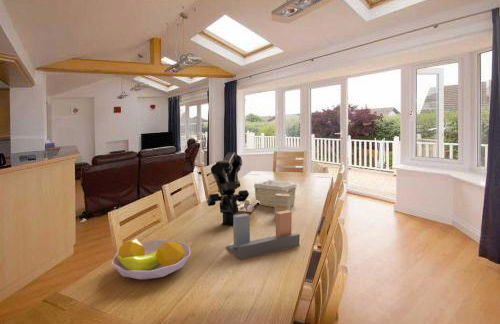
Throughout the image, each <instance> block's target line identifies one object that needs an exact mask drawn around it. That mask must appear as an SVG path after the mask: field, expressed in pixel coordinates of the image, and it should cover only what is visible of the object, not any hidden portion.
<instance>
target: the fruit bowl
mask: <svg viewBox="0 0 500 324" xmlns="http://www.w3.org/2000/svg"><path fill="white" fill-rule="evenodd" d="M191 253H192V252H191V247H190V245H189V244H187V243H184V242H182V241H178V240H176V239H175V240H174V239H170V240H169V239H154V240H148V241H145V242H144V241H143V242H140V240H138V238H135V239H131V240H125V241H124V242H123V243H122V244H121V246H119V248H118V252H116V253H115V254H114V257H113V259H112V261H111V265H112V266H113V267H114V268H115V269H116V271H117V272H118V273H119V274H120V275H121V276H122V277H125V278H132V279H136V280H151V279H157V278H163V277H165V276H167V275H169V274H171V273H173V272H177V270H180V269H182V268H183V267H184V266H185V264H186V263H187V260H188V259H189V258H190V257H191V255H192V254H191Z"/></svg>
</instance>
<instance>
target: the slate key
mask: <svg viewBox="0 0 500 324" xmlns="http://www.w3.org/2000/svg"><path fill="white" fill-rule="evenodd" d="M250 216H251V215H250V214H248V213H239V214H236V215H233V226H232V227H233V230H232V231H233V245H234V247H236V248H238V245H242V244H247V243H250V241H251V237H250V236H251V235H250V234H251V233H250V232H251V231H250V230H251V226H250V225H251V224H250V220H251V219H250Z"/></svg>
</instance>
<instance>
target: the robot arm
mask: <svg viewBox="0 0 500 324" xmlns="http://www.w3.org/2000/svg"><path fill="white" fill-rule="evenodd" d="M242 166H243V160H242V157H241V156H240V155H239V154H237V152H234V151H233V152H232V151H228V152H226V155H225V156H224V158H223V159H222V160H218V161H216V162H215V164H213V165H212V166H211V167H210V172H211V175H212V176H213V179H214V180H215V183H216V186H217V192H218V193H211V194H209V195H208V197H207V200H206V203H207V206H208V207H210V206H212V207H214V206H215V205H216V204H217V202H219V212H220V213H221V214H222V223H221V225H223V226H224V225H225V226H232V227H233V215H237V213H239V205H238V202H239V203H241V202H246V200H247V199H248V198H249V195H250V192H249V191H248V190H247V189H245V190H244V189H243V190H238V193H236V190H237V189H238V188H240V187H241V183H240V180H239V179H238V180H237V175H238V172H239V171H241V167H242ZM227 174H228V176H227Z"/></svg>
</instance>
